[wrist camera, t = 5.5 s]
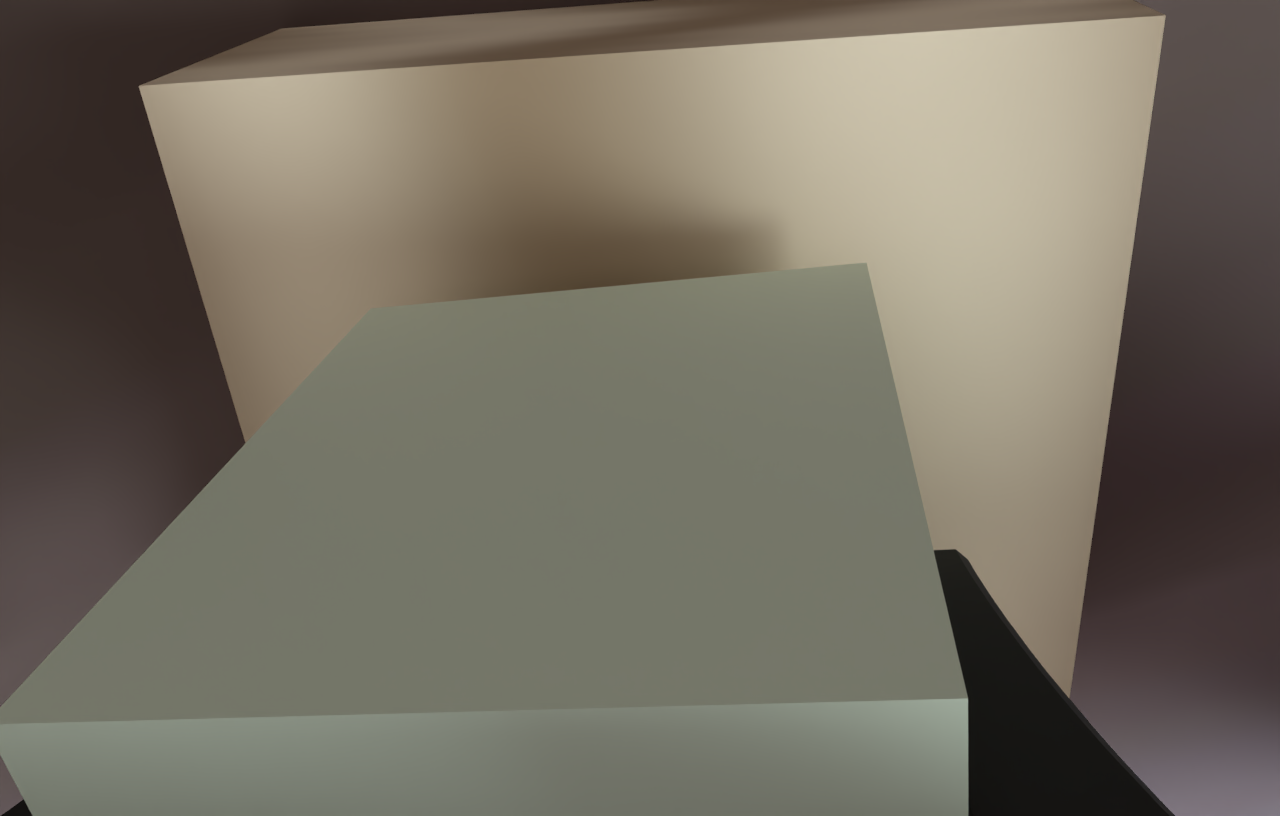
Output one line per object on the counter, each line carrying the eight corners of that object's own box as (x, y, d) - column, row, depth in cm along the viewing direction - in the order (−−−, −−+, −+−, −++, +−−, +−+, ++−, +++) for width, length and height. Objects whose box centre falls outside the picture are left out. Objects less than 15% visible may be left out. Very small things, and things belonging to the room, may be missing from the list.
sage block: (867, 262, 10) (967, 699, 5) (884, 674, 12) (970, 1288, 7) (370, 308, 11) (-17, 725, 6) (470, 687, 13) (261, 1246, 8)
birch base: (1060, -34, 13) (1164, 16, 10) (999, 608, 18) (1055, 799, 14) (292, 24, 14) (138, 85, 11) (424, 606, 19) (345, 780, 16)
